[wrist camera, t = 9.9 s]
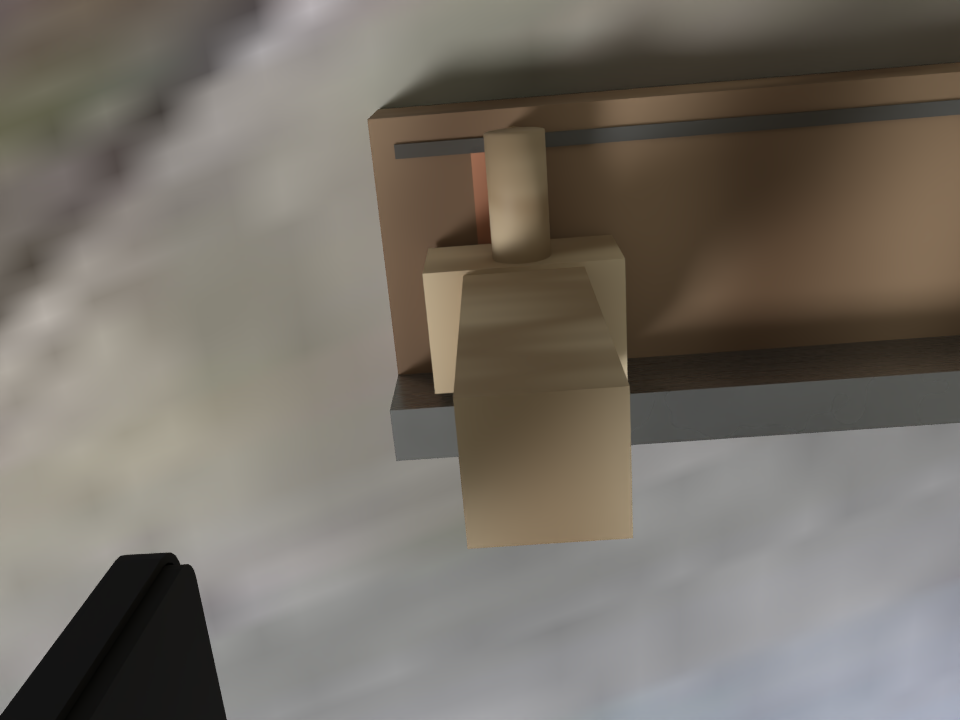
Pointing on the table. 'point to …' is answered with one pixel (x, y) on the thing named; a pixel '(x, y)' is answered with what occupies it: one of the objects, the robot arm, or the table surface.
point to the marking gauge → (533, 364)
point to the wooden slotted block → (716, 244)
